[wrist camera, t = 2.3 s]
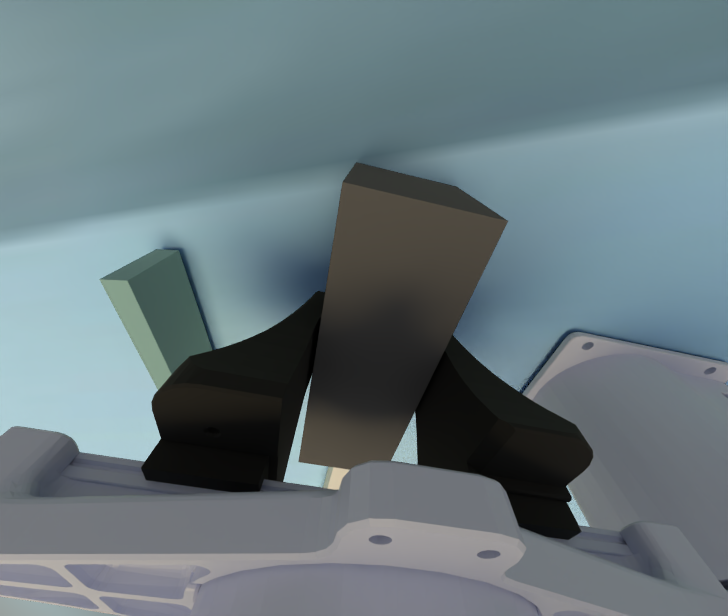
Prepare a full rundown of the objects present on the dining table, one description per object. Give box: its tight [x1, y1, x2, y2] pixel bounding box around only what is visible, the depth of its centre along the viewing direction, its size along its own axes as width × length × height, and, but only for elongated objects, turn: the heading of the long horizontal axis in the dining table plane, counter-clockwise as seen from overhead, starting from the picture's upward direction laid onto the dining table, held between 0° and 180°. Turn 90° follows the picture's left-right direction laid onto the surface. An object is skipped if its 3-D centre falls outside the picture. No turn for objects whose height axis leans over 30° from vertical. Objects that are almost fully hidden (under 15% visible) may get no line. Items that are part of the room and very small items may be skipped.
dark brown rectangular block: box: [299, 162, 508, 470], centre depth 12 cm, size 4×12×5 cm, turn 168°
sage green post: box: [100, 249, 212, 390], centre depth 14 cm, size 10×1×3 cm, turn 178°
